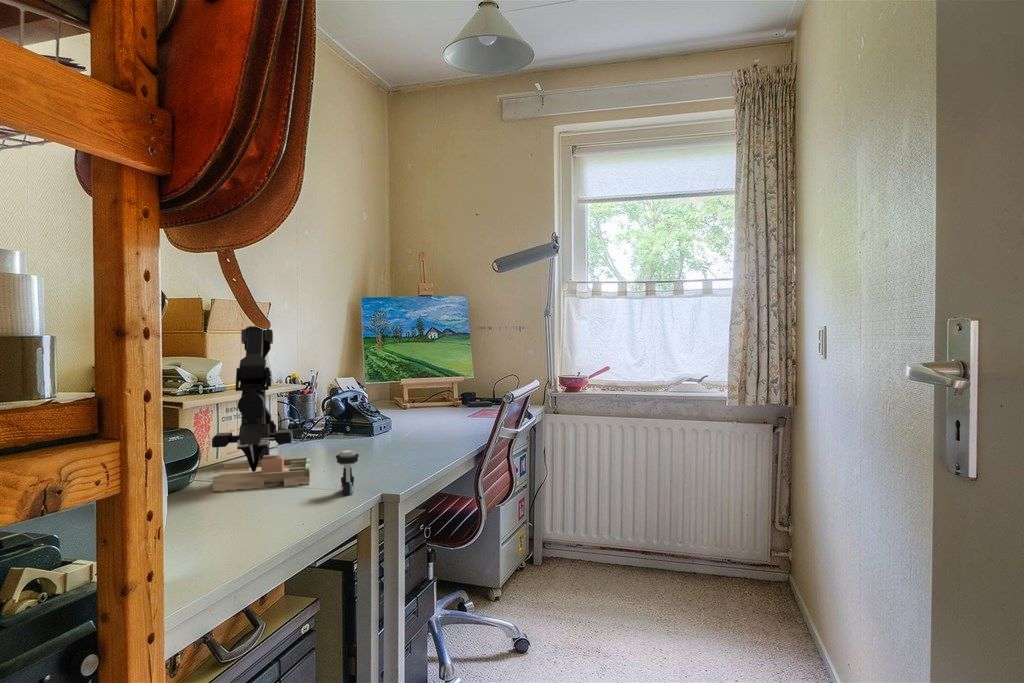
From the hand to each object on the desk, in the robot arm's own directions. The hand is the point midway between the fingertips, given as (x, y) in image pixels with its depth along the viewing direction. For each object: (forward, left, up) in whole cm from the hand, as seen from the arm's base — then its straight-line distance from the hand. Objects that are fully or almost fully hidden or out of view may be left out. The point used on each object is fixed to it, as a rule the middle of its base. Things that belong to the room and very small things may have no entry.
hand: (253, 471), depth 150 cm
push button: (+18, +23, -3) cm, 29 cm away
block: (0, +5, -1) cm, 5 cm away
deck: (0, +3, -3) cm, 4 cm away
